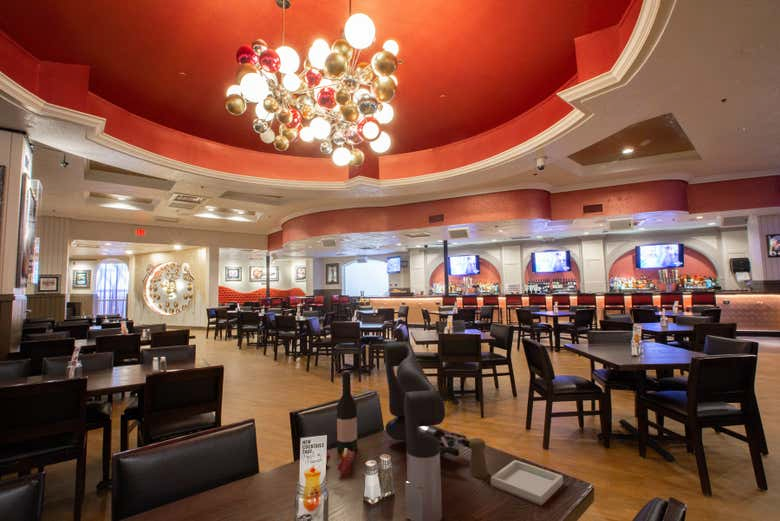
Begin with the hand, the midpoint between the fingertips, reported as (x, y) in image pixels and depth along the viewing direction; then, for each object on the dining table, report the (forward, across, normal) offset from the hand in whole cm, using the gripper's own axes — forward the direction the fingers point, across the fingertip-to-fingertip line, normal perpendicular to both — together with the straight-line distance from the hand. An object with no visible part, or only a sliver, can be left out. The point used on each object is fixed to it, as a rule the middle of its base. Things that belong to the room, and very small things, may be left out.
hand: (465, 449), depth 127 cm
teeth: (-33, -32, +7) cm, 46 cm away
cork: (+5, 0, +7) cm, 8 cm away
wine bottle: (-43, -18, +7) cm, 47 cm away
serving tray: (+20, +4, +6) cm, 21 cm away
